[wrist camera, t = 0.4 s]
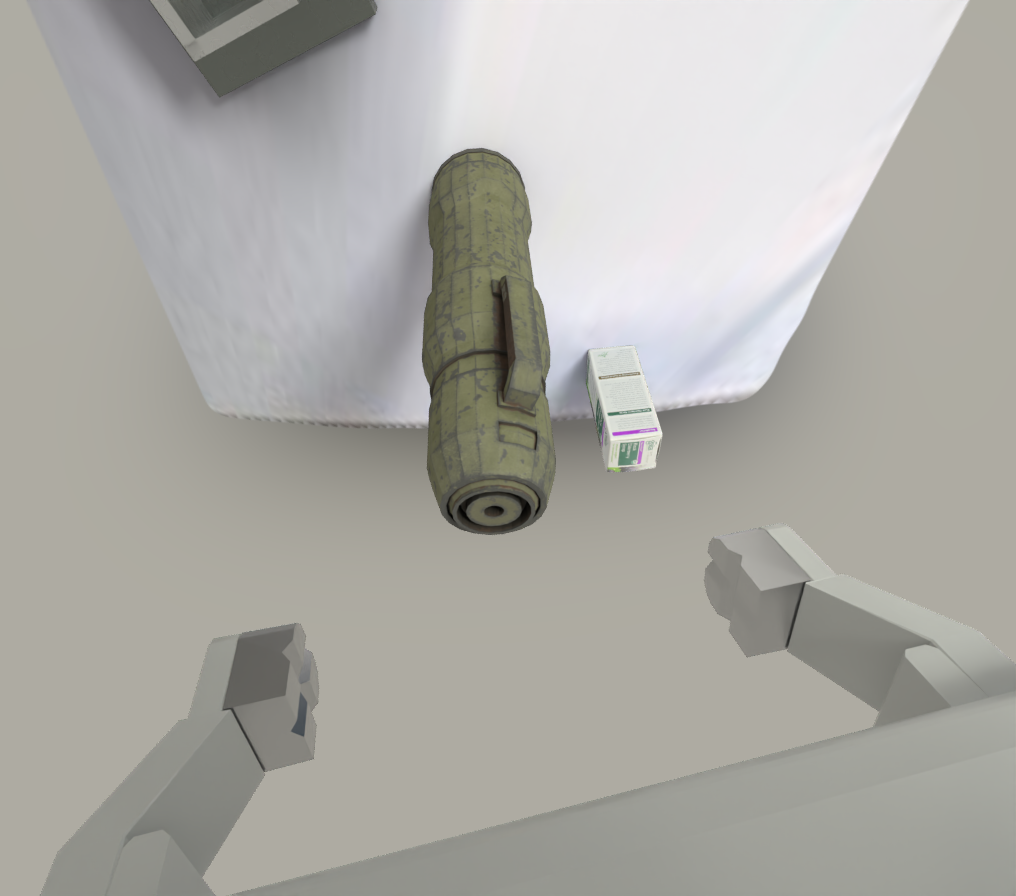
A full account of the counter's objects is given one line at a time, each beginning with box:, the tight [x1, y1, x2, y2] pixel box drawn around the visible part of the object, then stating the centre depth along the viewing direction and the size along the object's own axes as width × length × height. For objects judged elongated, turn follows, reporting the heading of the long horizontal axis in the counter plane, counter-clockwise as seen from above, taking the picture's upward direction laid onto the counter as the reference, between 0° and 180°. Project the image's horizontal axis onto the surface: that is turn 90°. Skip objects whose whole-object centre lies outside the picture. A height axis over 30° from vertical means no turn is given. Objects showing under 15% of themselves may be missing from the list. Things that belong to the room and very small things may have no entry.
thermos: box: [422, 148, 556, 535], centre depth 44 cm, size 9×12×35 cm
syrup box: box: [586, 345, 663, 472], centre depth 68 cm, size 6×6×14 cm
